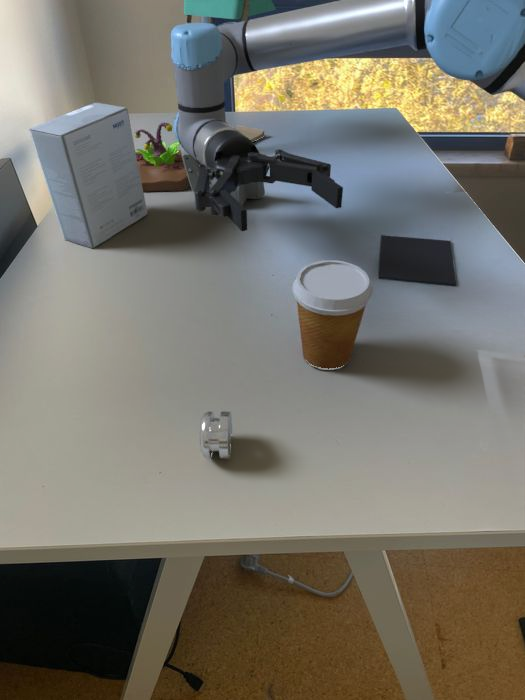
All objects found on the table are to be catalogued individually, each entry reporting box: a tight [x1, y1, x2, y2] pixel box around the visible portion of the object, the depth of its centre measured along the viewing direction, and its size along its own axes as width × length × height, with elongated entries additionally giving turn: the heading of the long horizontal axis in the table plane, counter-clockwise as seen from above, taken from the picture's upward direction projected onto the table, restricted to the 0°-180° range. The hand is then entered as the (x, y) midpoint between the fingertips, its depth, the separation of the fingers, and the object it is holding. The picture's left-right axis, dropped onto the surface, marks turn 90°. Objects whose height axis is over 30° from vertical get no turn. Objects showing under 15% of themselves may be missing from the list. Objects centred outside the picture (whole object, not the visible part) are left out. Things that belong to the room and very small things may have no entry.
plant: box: [134, 121, 191, 193], centre depth 113 cm, size 20×20×11 cm
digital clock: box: [180, 147, 266, 206], centre depth 103 cm, size 16×9×11 cm, turn 63°
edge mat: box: [377, 234, 457, 287], centre depth 87 cm, size 12×14×1 cm
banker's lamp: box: [183, 0, 277, 142], centre depth 119 cm, size 16×21×35 cm
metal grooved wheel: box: [199, 410, 233, 460], centre depth 55 cm, size 5×3×5 cm, turn 178°
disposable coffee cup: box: [292, 259, 373, 369], centre depth 65 cm, size 10×10×12 cm
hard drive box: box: [28, 102, 148, 249], centre depth 91 cm, size 16×8×20 cm, turn 150°
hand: (293, 209), depth 64 cm, fingers open, 13 cm apart
